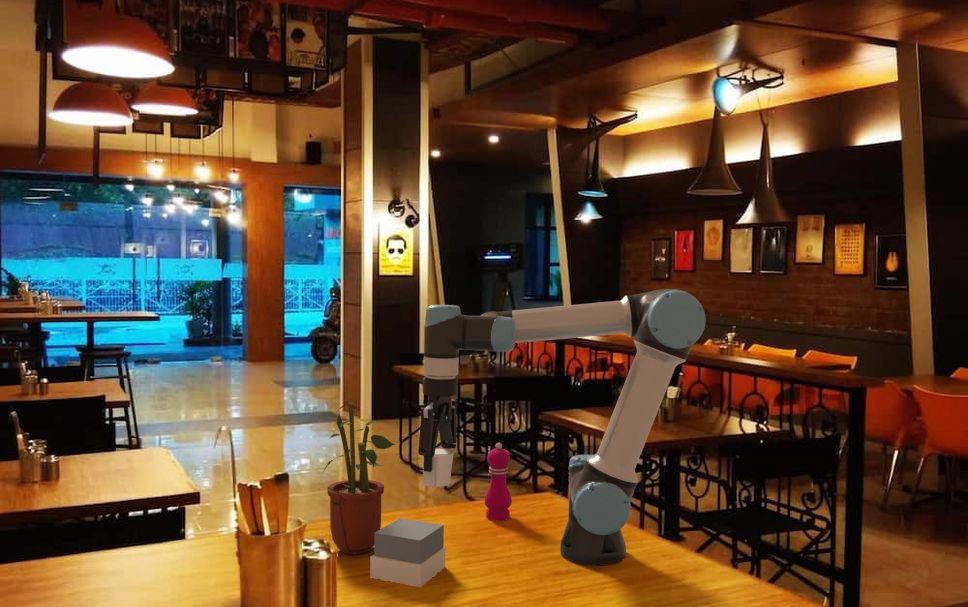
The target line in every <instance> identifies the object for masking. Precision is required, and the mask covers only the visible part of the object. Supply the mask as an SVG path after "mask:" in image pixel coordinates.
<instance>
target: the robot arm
mask: <svg viewBox="0 0 968 607" xmlns="http://www.w3.org/2000/svg"><path fill="white" fill-rule="evenodd" d="M705 328H706V314H705V310H704V308H703V305H702V304H701V303H700V301H699V300H698V299H697V298H696V297H695V296H693V294H692V293H689V292H687V291H685V290H681V289H677V288H676V289H675V288H659V289H656V290H652V291H647V292H643V293H637V294H631V295H624V296H623V297H622V298H621V300H613V301H603V302H602V301H601V302H592V303H591V302H590V303H581V304H580V303H579V304H570V305H569V304H568V305H560V306H559V305H558V306H550V307H549V306H548V307H537V308H536V307H535V308H526V309H513V310H506V311H505V310H504V311H495V310H494V311H492V310H491V311H485V312H484V313H482V314H481V315H465V314H462V312H461V308H460V306H459V305H455V304H451V305H450V304H431V305H429V306H428V307H426V309H425V319H424V325H423V333H424V335H423V337H424V339H423V343H424V344H423V360H422V364H423V374H424V377H423V378H422V393H423V395H424V396H427V398H428V399H427V404H426V407H421V408H420V410H419V411H420V426H419V427H420V428H419V438H418V439H419V440H418V448H417V449H418V451H417V453H418V455H419V456H424V460H423V459H422V469H423V470H422V486H424V487H431V488H435V487H437V486H436V460H437V456H434V455H435V449H436V448H437V442H438V438H439V439H440V445H441V446H440V447H441V448H445V449H450V450H452V449H456V448H457V441H458V440H457V434H458V433H457V432H458V430H457V429H458V428H457V408H458V400H457V399H452V397H454V396H456V395H457V394H458V384H459V383H458V382H459V380H458V378H457V377H458V375H459V362H460V361H459V359H460V358H459V355H460V354H459V351H460V350H462V351H482V352H496V353H500V352H507V353H508V352H512V351H514V348H515V344H516V343H517V344H519V343H527V342H530V343H531V342H541V341H551V340H552V341H553V340H565V339H574V338H575V339H576V338H587V337H597V336H599V337H601V336H611V335H623V334H624V335H625V336H627V337H628V338H634V339H633V343H634V345H635V348H636V354H635V356H634V358H633V361H632V363H631V365H630V368H629V371H628V373H627V376H626V379H625V382H624V384H623V386H622V389H621V391H620V395H618V399H617V401H616V405H615V406H614V409H613V412H612V415H611V417H610V419H609V422H608V424H607V427H606V429H605V432H604V435H603V437H602V440H601V442H600V445H599V447H598V450H597V452H596V453H595V454H575V455H573V456H571V458H570V459H569V466H568V467H567V468H568V469H567V470H568V471H569V472H568V474H569V476H568V518H567V520H568V521H567V522H566V526H565V528H564V532H563V534H562V537H561V540H560V551H559V552H560V554H561V556H562V557H563V558H565V559H566V560H568V561H571V562H574V563H576V564H580V565H587V566H588V565H589V566H608V565H615V564H618V563H621V562H622V561H624V560H625V559H626V557H627V544H626V542H625V541H626V540H625V538H624V535H623V533H622V529H623V528H624V526H625V525H626V524H627V523H628V520H629V517H630V514H631V509H632V508H631V500H632V497H633V495H634V492H635V489H636V487H637V485H638V482H639V478H638V476H637V473H636V470H635V469H636V467H637V465H638V462H639V460H640V456H641V455H642V452H643V449H644V447H645V445H646V442H647V439H648V437H649V435H650V432H651V430H652V427H653V425H654V421H655V419H656V416H657V414H658V412H659V410H660V406H661V404H662V402H663V399H664V397H665V395H666V391H667V390H668V387H669V384H670V382H671V380H672V377H673V374H674V373H675V372H674V371H675V370H676V367H677V366H678V365H681V364H683V363H685V362H686V361H687V359H688V356H689V354H690V352H691V349H692V347H693V345H694V344H695V343H696V342H697V341H698V340H699V339H700V337H701V336H702V334H703V332H704V330H705ZM452 451H453V450H452ZM450 479H451V477H450Z"/></svg>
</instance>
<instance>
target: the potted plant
mask: <svg viewBox="0 0 968 607" xmlns="http://www.w3.org/2000/svg"><path fill="white" fill-rule="evenodd" d="M347 405H348V416H349V420H345V421H343V420H342V418H341V416H340V414H339V413H338V415H337V419H336V422H335V424H336V426H337V429H338V431H339V433H334V434H332V435H330V437H329V439H331V438H335V437H338V436H340V438H341V443H342V448H343V451H344V452H343V453H344V454H343V455H342V454H341V455H337V458H342V457H344V459H345V467H346V473H347V480H341V481H338V482H333V483H331V484H329V485H328V486H327V489H326V491H327V496H328V497H329V504H330V505H329V515H330V516H329V520H330V522H329V523H330V525H329V527H330V532H331V537H332V541H333V543H334V545H335V547H337V549H338V550H339V551H341V552H342V553H344V554H347V555H361V554H364V553H365V554H366V553H367V552H369V551H370V550H372V548H374V547H375V532H377V531H379V530H380V529H382V528H381V527H382V495H383V494H384V492H385V485H384V484H383V483H382V482H379V481H377V480H370V479H369V472H368V470H369V469H368V465H369V466H372V467H373V469H374V468H375V466H378V467H384V468H385V466H384V465H381V464H379V463H378V462H377V460H378V454H377V453H376V452H375V450H374V449H371V448H369V449H367V444H368V443H372V445H373V446H374V447H375V448H376V449H378V450H379V449H380V450H385V449H389V448H391V447H392V446H396V444H395V443H393V442H392V441H391V440H389V439H388V438H387V437H385V436H384V435H379V434H372V435H370V440H368V438H369V437H368V436H369V433H370V427H369V426H370V425H371V424H373V422H376V421H377V420H376V419H375V420H370V421H368V422H366V423H365V424H364V425H365V427H364V428H359V429H356V430H355V414H354V403H352V402H348V403H347ZM345 406H346V404H343V405H342V406H340V407H339V409H338V410H337V411H336V412H338V411H339V410H341V409H342V408H343V407H345ZM344 425H346V426H349V443H350V444H348V440H347V435H346V434H347V433H346V430H345V427H344ZM361 431H364V432H363V437H362V442H359V443H357V448H358V456H359V463H358V464H357V463H356V451H355V447H356V446H355V439H358V437H356V438H355V432H361ZM367 442H368V443H367ZM348 445H349V446H348ZM349 448H350V449H349ZM334 460H335V458H333V459H332V460H329V461H328V462H327V463H326V466H325V467H324V469H323V471H322V473H324V471H325V470H326V468H327V467H328V466H329V465H330V464H331V463H332V462H333V461H334ZM367 460H368V461H367ZM356 469H357V471H359V474H358V476H359V477H358V478H359V479H356V478H357V476H356Z"/></svg>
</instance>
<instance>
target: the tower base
mask: <svg viewBox="0 0 968 607" xmlns="http://www.w3.org/2000/svg"><path fill="white" fill-rule="evenodd" d="M369 558H370V561H369V562H370V563H369V564H370V565H369V567H370V568H369V578H370V579H372V578H374V579H373V580H377V579H381V580H380V581H383V580H385V581H384V582H388V581H391V582H390V583H394V582H396V583H395V584H399V583H400V585H404V584H405V585H406V586H411V587H417V588H422V587H423V586H424V585H425V584H427V583H428V582H429V581H431V579H433V578H434V577H435V576H436V575H438V574H439V573H440V572H442V571H443V570H444V569H445V568H446V546H444V547H443V548H442V549H440V550H439V551H438V552H436V553H435V554H433V555H432V556H431V557H429V558H428V559H426V560H425V561H424V562H422V563H421V564H416V563H411V562H406V561H400V560H395V559H389V558H384V557H378V556H374V554H373V555H371V556H370V557H369ZM443 568H444V569H443ZM442 569H443V570H442ZM438 572H439V573H438ZM437 573H438V574H437ZM432 577H433V578H432ZM426 582H427V583H426Z"/></svg>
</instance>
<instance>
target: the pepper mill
mask: <svg viewBox="0 0 968 607" xmlns="http://www.w3.org/2000/svg"><path fill="white" fill-rule="evenodd" d="M494 447H495V448H493V449H491V450H490V451H488V454H487V457H486V458H487V463H488V464H489V467H488V469H489V470H488V473H490V482H489V486H488V489H487V491H486V493H485V496H484V505H485V507H486V508H487V510H486V511H485V513H486V514H485V517H486V519H487V518H488V519H487V520H489V519H491V520H490V521H493V520H504V521H507V520H509V519H510V518H511V517H510V516H511V515H510V513H511V511H510V510H509V508H510V507H511V505H512V503H513V500H512V496H511V493H510V490H509V487H508V485H507V473H509V470H508V469H509V467H508V465H509V463H510V461H511V458H510V454H509V451H508V450H506V449H504V448H502V447H503V444H502V443H501V442H497V443H496V444H495V446H494ZM506 519H507V520H506Z"/></svg>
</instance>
